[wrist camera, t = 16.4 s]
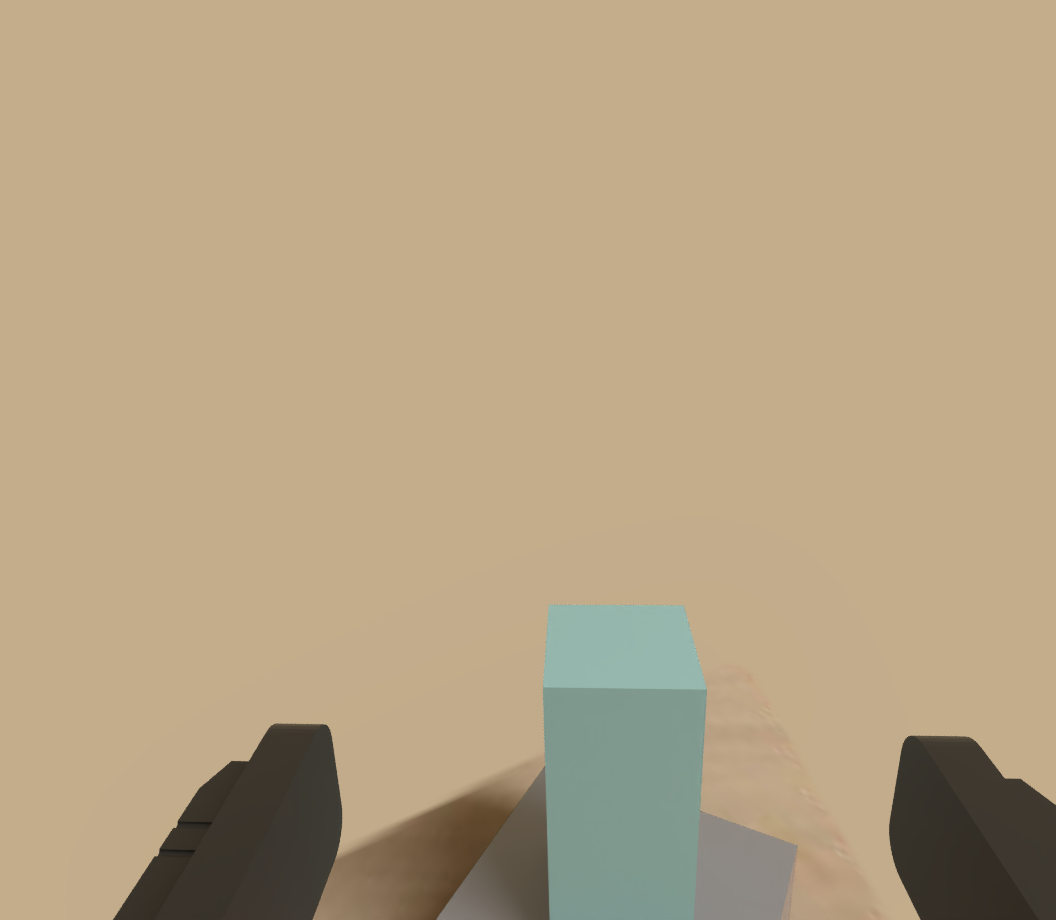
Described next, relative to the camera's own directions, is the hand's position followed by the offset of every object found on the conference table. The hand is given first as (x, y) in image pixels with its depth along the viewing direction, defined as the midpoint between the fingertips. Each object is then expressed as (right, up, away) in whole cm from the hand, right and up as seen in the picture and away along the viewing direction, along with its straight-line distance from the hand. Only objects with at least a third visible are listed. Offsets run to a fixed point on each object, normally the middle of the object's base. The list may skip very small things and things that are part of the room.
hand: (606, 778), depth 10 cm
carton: (+3, -16, +24) cm, 29 cm away
